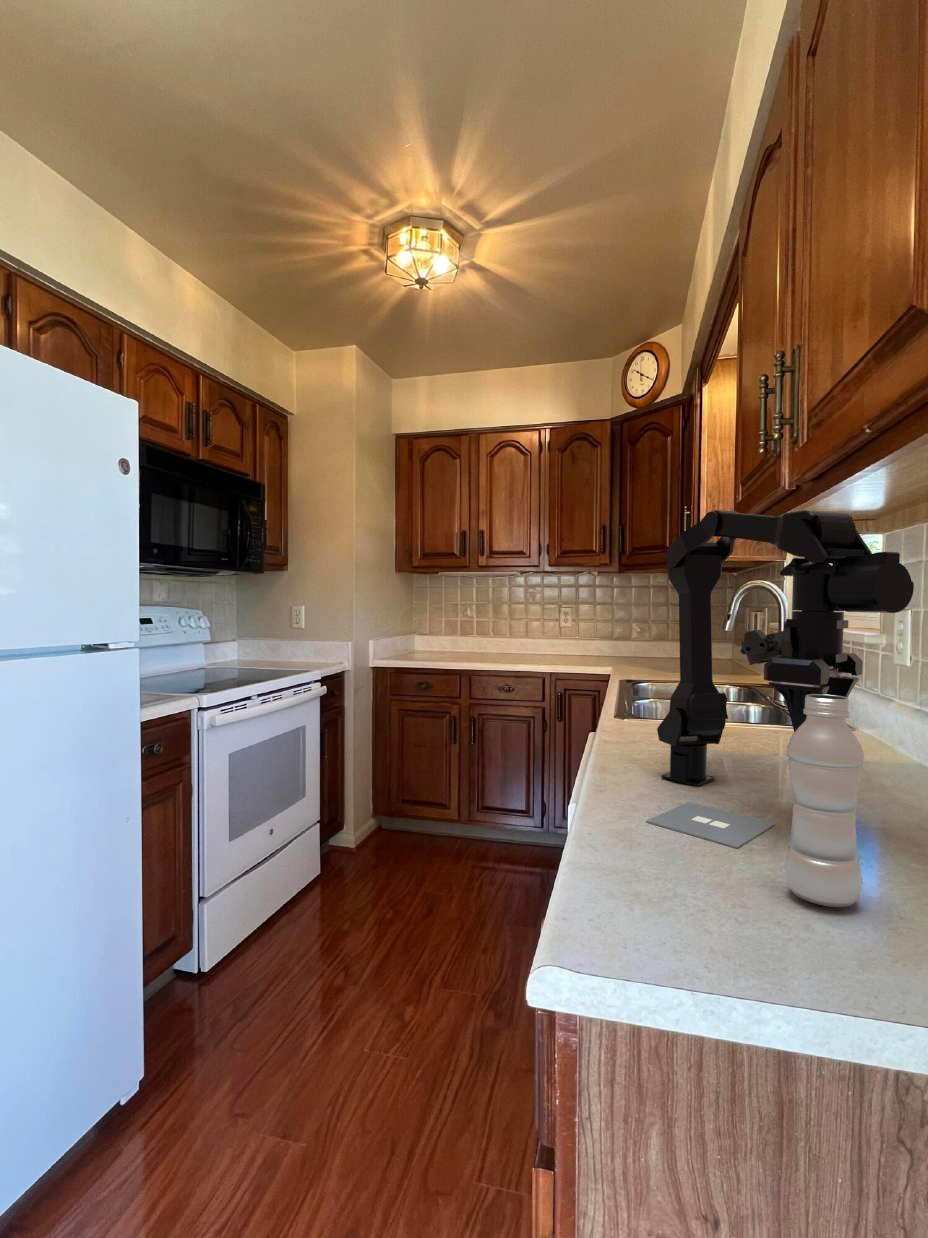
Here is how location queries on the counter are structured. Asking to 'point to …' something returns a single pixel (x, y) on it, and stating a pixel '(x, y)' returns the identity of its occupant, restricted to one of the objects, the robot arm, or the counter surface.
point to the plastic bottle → (824, 805)
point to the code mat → (712, 824)
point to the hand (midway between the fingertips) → (813, 734)
